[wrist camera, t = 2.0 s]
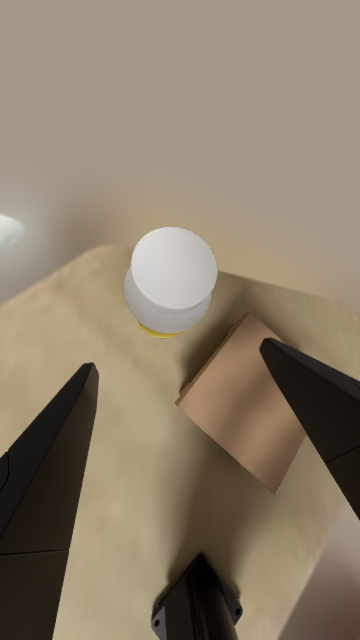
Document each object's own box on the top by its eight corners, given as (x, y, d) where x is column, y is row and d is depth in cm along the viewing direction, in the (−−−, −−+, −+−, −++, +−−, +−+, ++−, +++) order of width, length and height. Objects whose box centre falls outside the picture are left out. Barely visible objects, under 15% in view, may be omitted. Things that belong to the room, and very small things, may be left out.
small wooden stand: (298, 379, 21) (331, 386, 18) (248, 463, 19) (274, 494, 15) (232, 318, 21) (250, 311, 17) (171, 394, 18) (176, 406, 15)
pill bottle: (192, 334, 20) (245, 318, 9) (138, 343, 19) (119, 336, 7) (183, 284, 21) (222, 211, 10) (131, 289, 20) (105, 211, 8)
